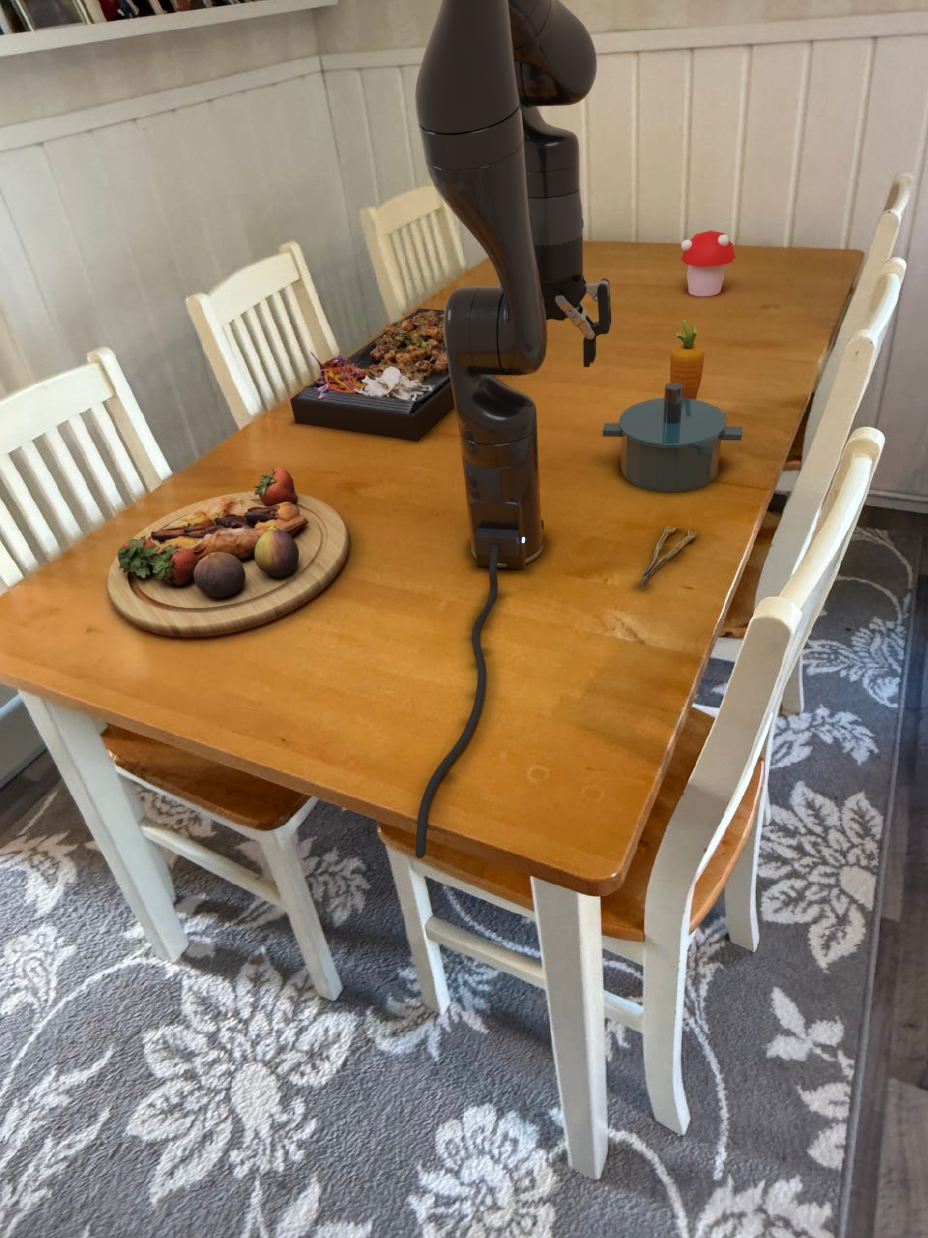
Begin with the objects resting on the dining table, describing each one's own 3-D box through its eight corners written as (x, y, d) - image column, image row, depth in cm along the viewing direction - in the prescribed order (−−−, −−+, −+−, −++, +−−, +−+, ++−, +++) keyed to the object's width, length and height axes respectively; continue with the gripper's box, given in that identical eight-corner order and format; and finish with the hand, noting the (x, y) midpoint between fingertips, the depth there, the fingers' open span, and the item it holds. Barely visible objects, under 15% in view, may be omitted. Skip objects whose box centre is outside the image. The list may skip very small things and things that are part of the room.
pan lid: (724, 454, 112) (729, 410, 108) (612, 450, 116) (613, 408, 112) (726, 406, 123) (731, 364, 119) (624, 404, 127) (625, 363, 123)
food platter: (417, 441, 138) (409, 380, 131) (295, 422, 148) (281, 365, 141) (529, 339, 168) (526, 285, 162) (421, 329, 178) (415, 278, 172)
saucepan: (737, 495, 116) (742, 448, 112) (597, 488, 121) (597, 444, 116) (738, 448, 126) (743, 404, 122) (609, 444, 131) (609, 401, 127)
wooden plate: (249, 483, 132) (235, 434, 127) (399, 541, 115) (390, 488, 110) (64, 588, 114) (39, 536, 109) (211, 676, 97) (189, 619, 92)
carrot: (699, 423, 133) (707, 328, 124) (667, 423, 134) (672, 329, 125) (699, 409, 137) (706, 316, 128) (667, 409, 138) (672, 317, 129)
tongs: (632, 585, 102) (633, 571, 101) (666, 533, 111) (667, 520, 110) (666, 593, 101) (667, 579, 99) (698, 540, 110) (699, 526, 108)
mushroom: (668, 290, 182) (671, 230, 175) (710, 278, 186) (715, 219, 178) (699, 302, 175) (704, 241, 167) (742, 290, 178) (749, 229, 170)
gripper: (484, 243, 99) (494, 376, 109) (607, 240, 96) (606, 377, 106) (498, 225, 105) (506, 352, 115) (614, 220, 101) (613, 353, 111)
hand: (554, 364), depth 110 cm, fingers open, 8 cm apart
